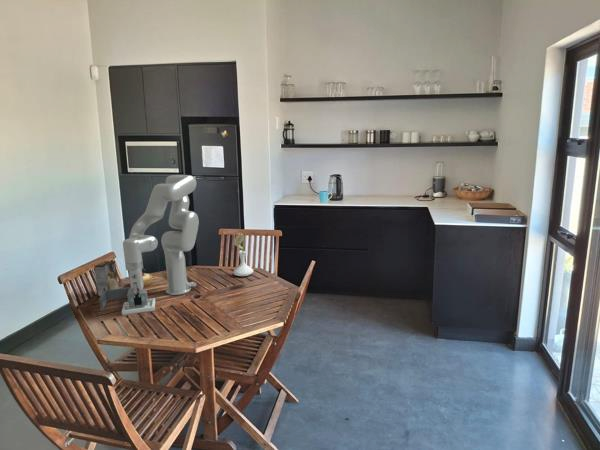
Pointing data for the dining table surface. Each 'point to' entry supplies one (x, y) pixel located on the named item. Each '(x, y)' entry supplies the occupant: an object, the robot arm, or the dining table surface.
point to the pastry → (147, 279)
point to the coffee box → (106, 276)
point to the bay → (113, 295)
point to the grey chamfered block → (143, 297)
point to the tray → (138, 308)
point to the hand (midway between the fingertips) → (138, 302)
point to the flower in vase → (242, 268)
